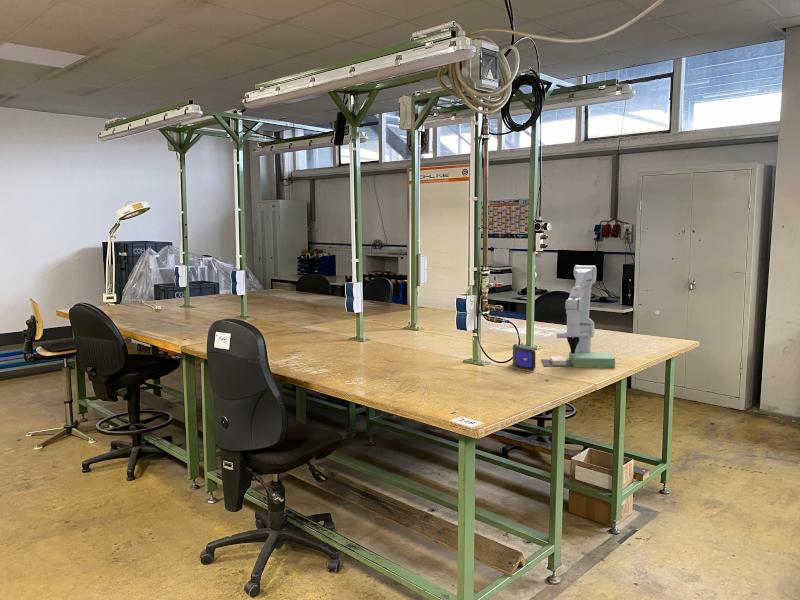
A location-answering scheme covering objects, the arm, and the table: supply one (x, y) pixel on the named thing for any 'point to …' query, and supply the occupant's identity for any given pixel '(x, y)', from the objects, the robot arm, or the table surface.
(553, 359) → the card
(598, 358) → the block
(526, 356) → the framed blue square panel
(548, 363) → the mat
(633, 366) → the table surface
